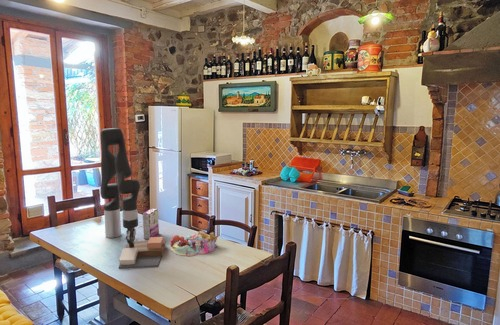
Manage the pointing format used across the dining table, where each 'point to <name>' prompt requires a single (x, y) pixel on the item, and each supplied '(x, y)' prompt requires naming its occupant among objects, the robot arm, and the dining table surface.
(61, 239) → the dining table surface
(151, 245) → the terracotta tile
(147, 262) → the rubber mat
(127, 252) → the cream tile
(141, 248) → the walnut board
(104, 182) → the robot arm
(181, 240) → the candy landscape model
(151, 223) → the candy bar box
